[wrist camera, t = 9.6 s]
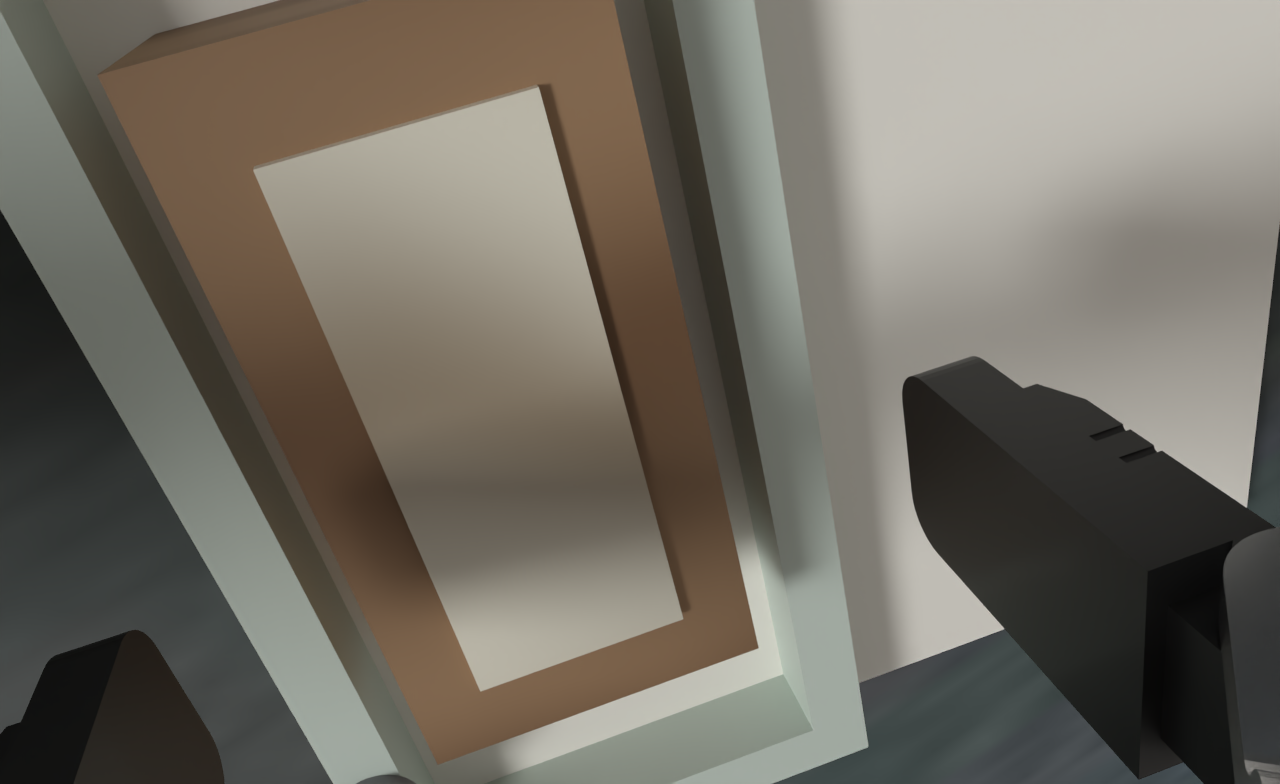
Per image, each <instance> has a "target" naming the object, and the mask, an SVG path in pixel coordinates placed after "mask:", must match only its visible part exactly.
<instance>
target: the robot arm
mask: <svg viewBox="0 0 1280 784" xmlns="http://www.w3.org/2000/svg"><path fill="white" fill-rule="evenodd" d="M902 403H903V413H904V422H905V432H906V442H907V452H908V461H909V471H910V481H911V491H912V498H913V503H914V507H915V511H916V514H917V517H918V520H919V522H920V525H921V527H922V529H923V531H924V533H925V535H926V537H927V539H928V541H929V542H930V544H931V545H932V547H933V548H934V550H935V551H936V552H937V553H938V554H939V556H940V557H941V558H942V559H943V560H944V561H945V562H946V563H947V565H948V566H949V567H950V568H951V569H952V570H953V571H954V572H955V574H956V575H957V576H958V577H959V578H960V579H961V580H962V581H963V583H964V584H965V585H966V586H967V587H968V588H969V589H970V590H971V592H972V593H973V594H974V595H975V596H976V597H977V598H978V599H979V601H980V602H981V603H982V604H983V605H984V606H985V607H986V608H987V610H988V611H989V612H990V613H991V614H992V615H993V616H994V617H995V619H996V620H997V621H998V622H999V623H1000V624H1001V625H1002V626H1003V628H1004V629H1005V630H1006V631H1007V632H1008V633H1009V634H1010V635H1011V637H1012V638H1013V639H1014V640H1015V641H1016V642H1017V643H1018V644H1019V646H1020V647H1021V648H1022V649H1023V650H1024V651H1025V652H1026V653H1027V655H1028V656H1029V657H1030V658H1031V659H1032V660H1033V661H1034V662H1035V664H1036V665H1037V666H1038V667H1039V668H1040V669H1041V670H1042V671H1043V673H1044V674H1045V675H1046V676H1047V677H1048V678H1049V679H1050V680H1051V682H1052V683H1053V684H1054V685H1055V686H1056V687H1057V688H1058V689H1059V690H1060V692H1061V693H1062V694H1063V695H1064V696H1065V697H1066V698H1067V699H1068V701H1069V702H1070V703H1071V704H1072V705H1073V706H1074V707H1075V708H1076V710H1077V711H1078V712H1079V713H1080V714H1081V715H1082V716H1083V717H1084V719H1085V720H1086V721H1087V722H1088V723H1089V724H1090V725H1091V726H1092V728H1093V729H1094V730H1095V731H1096V732H1097V733H1098V734H1099V735H1100V737H1101V738H1102V739H1103V740H1104V741H1105V742H1106V743H1107V744H1108V746H1109V747H1110V748H1111V749H1112V750H1113V751H1114V752H1115V753H1116V755H1117V756H1118V757H1119V758H1120V759H1121V760H1122V761H1123V762H1124V764H1125V765H1126V766H1127V767H1128V768H1129V769H1130V770H1131V771H1132V773H1133V774H1134V775H1135V776H1136V777H1137V778H1138V779H1142V778H1144V777H1147V776H1149V775H1152V774H1154V773H1157V772H1160V771H1162V770H1165V769H1167V768H1170V767H1172V766H1175V765H1177V764H1180V763H1182V762H1184V763H1185V764H1186V765H1187V766H1188V767H1189V768H1190V769H1191V770H1192V772H1193V773H1194V774H1195V775H1196V776H1197V777H1198V778H1199V779H1200V780H1201V781H1202V782H1203V783H1204V784H1280V527H1277V528H1276V527H1274V526H1273V525H1271V524H1270V523H1268V522H1267V521H1265V520H1264V519H1262V518H1261V517H1259V516H1258V515H1256V514H1255V513H1254V512H1252V511H1251V510H1249V509H1248V508H1246V507H1245V506H1243V505H1242V504H1240V503H1239V502H1237V501H1236V500H1234V499H1233V498H1231V497H1230V496H1228V495H1227V494H1225V493H1224V492H1222V491H1221V490H1220V489H1218V488H1217V487H1215V486H1214V485H1212V484H1211V483H1209V482H1208V481H1206V480H1205V479H1203V478H1202V477H1200V476H1199V475H1197V474H1196V473H1194V472H1193V471H1191V470H1190V469H1189V468H1187V467H1186V466H1184V465H1183V464H1181V463H1180V462H1178V461H1177V460H1175V459H1174V458H1172V457H1171V456H1169V455H1168V454H1166V453H1165V452H1163V451H1159V452H1157V451H1156V450H1155V448H1154V445H1153V444H1152V443H1150V442H1149V441H1147V440H1146V439H1144V438H1143V437H1141V436H1140V435H1138V434H1137V433H1135V432H1134V431H1132V430H1131V429H1130V430H1127V431H1126V430H1125V429H1124V427H1123V424H1122V423H1121V422H1119V421H1118V420H1116V419H1115V418H1113V417H1112V416H1110V415H1109V414H1107V413H1106V412H1104V411H1103V410H1101V409H1100V408H1098V407H1097V406H1095V405H1094V404H1092V403H1091V402H1090V401H1088V400H1087V399H1084V398H1081V397H1077V396H1074V395H1071V394H1068V393H1065V392H1061V391H1058V390H1055V389H1052V388H1049V387H1045V386H1042V385H1039V384H1035V385H1032V386H1029V387H1026V388H1022V387H1021V386H1019V385H1018V384H1017V383H1015V382H1014V381H1012V380H1011V379H1010V378H1008V377H1007V376H1006V375H1004V374H1003V373H1001V372H1000V371H999V370H997V369H996V368H995V367H993V366H992V365H990V364H989V363H988V362H986V361H985V360H983V359H982V358H980V357H977V356H971V357H968V358H965V359H961V360H958V361H955V362H952V363H949V364H946V365H943V366H940V367H937V368H934V369H931V370H928V371H925V372H922V373H919V374H916V375H913V376H910V377H908V378H907V379H906V380H905V382H904V384H903V388H902ZM0 784H224V775H223V769H222V764H221V760H220V756H219V753H218V750H217V747H216V744H215V742H214V740H213V738H212V736H211V734H210V732H209V731H208V729H207V728H206V726H205V724H204V723H203V721H202V720H201V718H200V716H199V715H198V713H197V711H196V710H195V708H194V707H193V705H192V703H191V702H190V700H189V699H188V697H187V695H186V694H185V692H184V690H183V689H182V687H181V686H180V684H179V682H178V681H177V679H176V678H175V676H174V674H173V673H172V671H171V669H170V668H169V666H168V665H167V663H166V661H165V660H164V658H163V657H162V655H161V653H160V652H159V650H158V648H157V647H156V645H155V644H154V643H153V641H152V640H151V639H150V638H149V637H148V636H147V635H146V634H145V633H143V632H141V631H139V630H132V631H128V632H125V633H122V634H119V635H116V636H113V637H110V638H107V639H104V640H101V641H98V642H95V643H92V644H89V645H86V646H83V647H80V648H77V649H74V650H71V651H68V652H65V653H61V654H58V655H56V656H54V657H52V658H51V659H50V660H49V661H48V662H47V664H46V666H45V668H44V670H43V672H42V674H41V677H40V679H39V681H38V684H37V686H36V688H35V691H34V693H33V695H32V698H31V700H30V702H29V705H28V707H27V709H26V712H25V714H24V716H23V719H22V721H21V722H20V723H17V724H14V725H11V726H8V727H6V728H5V729H4V731H3V732H2V733H1V734H0Z"/></svg>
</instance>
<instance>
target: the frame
mask: <svg viewBox="0 0 1280 784" xmlns="http://www.w3.org/2000/svg"><path fill="white" fill-rule="evenodd" d="M97 76H98V78H99V80H100V82H101V84H102V86H103V88H104V90H105V92H106V94H107V96H108V98H109V100H110V102H111V104H112V106H113V108H114V110H115V113H116V115H117V117H118V119H119V121H120V123H121V125H122V127H123V129H124V131H125V133H126V135H127V137H128V139H129V141H130V143H131V145H132V147H133V149H134V151H135V153H136V155H137V157H138V159H139V161H140V163H141V165H142V167H143V169H144V171H145V173H146V175H147V177H148V179H149V181H150V183H151V185H152V187H153V189H154V191H155V193H156V195H157V198H158V200H159V202H160V204H161V206H162V208H163V210H164V212H165V214H166V216H167V218H168V220H169V222H170V224H171V226H172V228H173V230H174V232H175V234H176V236H177V238H178V240H179V242H180V244H181V246H182V248H183V250H184V252H185V254H186V256H187V258H188V260H189V262H190V264H191V266H192V268H193V270H194V272H195V274H196V276H197V278H198V281H199V283H200V285H201V287H202V289H203V291H204V293H205V295H206V297H207V299H208V301H209V303H210V305H211V307H212V309H213V311H214V313H215V315H216V317H217V319H218V321H219V323H220V325H221V327H222V329H223V331H224V333H225V335H226V337H227V339H228V341H229V343H230V345H231V347H232V349H233V351H234V353H235V355H236V357H237V359H238V361H239V364H240V366H241V368H242V370H243V372H244V374H245V376H246V378H247V380H248V382H249V384H250V386H251V388H252V390H253V392H254V394H255V396H256V398H257V400H258V402H259V404H260V406H261V408H262V410H263V412H264V414H265V416H266V418H267V420H268V422H269V424H270V426H271V428H272V430H273V432H274V434H275V436H276V438H277V440H278V442H279V444H280V446H281V449H282V451H283V453H284V455H285V457H286V459H287V461H288V463H289V465H290V467H291V469H292V471H293V473H294V475H295V477H296V479H297V481H298V483H299V485H300V487H301V489H302V491H303V493H304V495H305V497H306V499H307V501H308V503H309V505H310V507H311V509H312V511H313V513H314V515H315V517H316V519H317V521H318V523H319V525H320V527H321V529H322V532H323V534H324V536H325V538H326V540H327V542H328V544H329V546H330V548H331V550H332V552H333V554H334V556H335V558H336V560H337V562H338V564H339V566H340V568H341V570H342V572H343V574H344V576H345V578H346V580H347V582H348V584H349V586H350V588H351V590H352V592H353V594H354V596H355V598H356V600H357V602H358V604H359V606H360V608H361V610H362V612H363V614H364V617H365V619H366V621H367V623H368V625H369V627H370V629H371V631H372V633H373V635H374V637H375V639H376V641H377V643H378V645H379V647H380V649H381V651H382V653H383V655H384V657H385V659H386V661H387V663H388V665H389V667H390V669H391V671H392V673H393V675H394V677H395V679H396V681H397V683H398V685H399V687H400V689H401V691H402V693H403V695H404V697H405V700H406V702H407V704H408V706H409V708H410V710H411V712H412V714H413V716H414V718H415V720H416V722H417V724H418V726H419V728H420V730H421V732H422V734H423V736H424V738H425V740H426V742H427V744H428V746H429V748H430V750H431V752H432V754H433V756H434V758H435V760H436V762H437V764H438V765H439V764H442V763H445V762H447V761H450V760H453V759H456V758H458V757H461V756H464V755H467V754H469V753H472V752H475V751H478V750H480V749H483V748H486V747H489V746H491V745H494V744H497V743H500V742H502V741H505V740H508V739H511V738H513V737H516V736H519V735H522V734H524V733H527V732H530V731H533V730H535V729H538V728H541V727H544V726H546V725H549V724H552V723H555V722H557V721H560V720H563V719H566V718H568V717H571V716H574V715H577V714H579V713H582V712H585V711H588V710H590V709H593V708H596V707H599V706H601V705H604V704H607V703H610V702H612V701H615V700H618V699H621V698H623V697H626V696H629V695H632V694H634V693H637V692H640V691H643V690H645V689H648V688H651V687H654V686H656V685H659V684H662V683H665V682H667V681H670V680H673V679H676V678H678V677H681V676H684V675H687V674H689V673H692V672H695V671H698V670H700V669H703V668H706V667H709V666H711V665H714V664H717V663H720V662H722V661H725V660H728V659H731V658H733V657H736V656H739V655H742V654H744V653H747V652H750V651H753V650H755V649H758V648H759V647H758V643H757V638H756V634H755V629H754V625H753V620H752V616H751V611H750V607H749V603H748V598H747V594H746V589H745V585H744V580H743V576H742V571H741V567H740V562H739V558H738V553H737V549H736V544H735V540H734V536H733V531H732V527H731V522H730V518H729V513H728V509H727V504H726V500H725V495H724V491H723V486H722V482H721V477H720V473H719V468H718V464H717V460H716V455H715V451H714V446H713V442H712V437H711V433H710V428H709V424H708V419H707V415H706V410H705V406H704V401H703V397H702V393H701V388H700V384H699V379H698V375H697V370H696V366H695V361H694V357H693V352H692V348H691V343H690V339H689V334H688V330H687V325H686V321H685V317H684V312H683V308H682V303H681V299H680V294H679V290H678V285H677V281H676V276H675V272H674V267H673V263H672V258H671V254H670V249H669V245H668V241H667V236H666V232H665V227H664V223H663V218H662V214H661V209H660V205H659V200H658V196H657V191H656V187H655V182H654V178H653V174H652V169H651V165H650V160H649V156H648V151H647V147H646V142H645V138H644V133H643V129H642V124H641V120H640V115H639V111H638V106H637V102H636V98H635V93H634V89H633V84H632V80H631V75H630V71H629V66H628V62H627V57H626V53H625V48H624V44H623V39H622V35H621V31H620V26H619V22H618V17H617V13H616V8H615V4H614V0H279V1H275V2H271V3H268V4H264V5H260V6H257V7H253V8H249V9H246V10H242V11H238V12H235V13H231V14H227V15H224V16H220V17H216V18H212V19H209V20H205V21H201V22H198V23H194V24H190V25H187V26H183V27H179V28H176V29H172V30H168V31H164V32H161V33H157V34H154V35H153V36H152V37H150V38H149V39H147V40H146V41H145V42H143V43H142V44H140V45H139V46H137V47H136V48H135V49H133V50H132V51H130V52H129V53H128V54H126V55H125V56H123V57H122V58H120V59H119V60H118V61H116V62H115V63H113V64H112V65H111V66H109V67H108V68H106V69H105V70H103V71H102V72H101V73H99V74H98V75H97Z"/></svg>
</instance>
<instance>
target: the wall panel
mask: <svg viewBox="0 0 1280 784" xmlns="http://www.w3.org/2000/svg"><path fill="white" fill-rule="evenodd" d="M275 1H279V0H0V210H1V212H2V213H3V215H4V217H5V219H6V220H7V222H8V224H9V225H10V227H11V229H12V231H13V232H14V234H15V236H16V237H17V239H18V241H19V243H20V244H21V246H22V248H23V250H24V251H25V253H26V255H27V256H28V258H29V260H30V262H31V263H32V265H33V267H34V269H35V270H36V272H37V274H38V275H39V277H40V279H41V281H42V282H43V284H44V286H45V287H46V289H47V291H48V293H49V294H50V296H51V298H52V300H53V301H54V303H55V305H56V306H57V308H58V310H59V312H60V313H61V315H62V317H63V319H64V320H65V322H66V324H67V325H68V327H69V329H70V331H71V332H72V334H73V336H74V337H75V339H76V341H77V343H78V344H79V346H80V348H81V350H82V351H83V353H84V355H85V356H86V358H87V360H88V362H89V363H90V365H91V367H92V368H93V370H94V372H95V374H96V375H97V377H98V379H99V381H100V382H101V384H102V386H103V387H104V389H105V391H106V393H107V394H108V396H109V398H110V400H111V401H112V403H113V405H114V406H115V408H116V410H117V412H118V413H119V415H120V417H121V418H122V420H123V422H124V424H125V425H126V427H127V429H128V431H129V432H130V434H131V436H132V437H133V439H134V441H135V443H136V444H137V446H138V448H139V450H140V451H141V453H142V455H143V456H144V458H145V460H146V462H147V463H148V465H149V467H150V468H151V470H152V472H153V474H154V475H155V477H156V479H157V481H158V482H159V484H160V486H161V487H162V489H163V491H164V493H165V494H166V496H167V498H168V500H169V501H170V503H171V505H172V506H173V508H174V510H175V512H176V513H177V515H178V517H179V518H180V520H181V522H182V524H183V525H184V527H185V529H186V531H187V532H188V534H189V536H190V537H191V539H192V541H193V543H194V544H195V546H196V548H197V550H198V551H199V553H200V555H201V556H202V558H203V560H204V562H205V563H206V565H207V567H208V568H209V570H210V572H211V574H212V575H213V577H214V579H215V581H216V582H217V584H218V586H219V587H220V589H221V591H222V593H223V594H224V596H225V598H226V599H227V601H228V603H229V605H230V606H231V608H232V610H233V612H234V613H235V615H236V617H237V618H238V620H239V622H240V624H241V625H242V627H243V629H244V631H245V632H246V634H247V636H248V637H249V639H250V641H251V643H252V644H253V646H254V648H255V649H256V651H257V653H258V655H259V656H260V658H261V660H262V662H263V663H264V665H265V667H266V668H267V670H268V672H269V674H270V675H271V677H272V679H273V681H274V682H275V684H276V686H277V687H278V689H279V691H280V693H281V694H282V696H283V698H284V699H285V701H286V703H287V705H288V706H289V708H290V710H291V712H292V713H293V715H294V717H295V718H296V720H297V722H298V724H299V725H300V727H301V729H302V731H303V732H304V734H305V736H306V737H307V739H308V741H309V743H310V744H311V746H312V748H313V749H314V751H315V753H316V755H317V756H318V758H319V760H320V762H321V763H322V765H323V767H324V768H325V770H326V772H327V774H328V775H329V777H330V779H331V781H332V782H333V784H772V783H775V782H778V781H780V780H783V779H785V778H788V777H791V776H793V775H796V774H799V773H801V772H804V771H807V770H809V769H812V768H815V767H817V766H820V765H822V764H825V763H828V762H830V761H833V760H836V759H838V758H841V757H844V756H846V755H849V754H851V753H854V752H857V751H859V750H862V749H865V748H867V747H868V741H867V734H866V728H865V721H864V715H863V708H862V702H861V695H860V689H859V683H860V682H863V681H866V680H868V679H871V678H874V677H876V676H879V675H882V674H885V673H887V672H890V671H893V670H895V669H898V668H901V667H903V666H906V665H909V664H912V663H914V662H917V661H920V660H922V659H925V658H928V657H930V656H933V655H936V654H938V653H941V652H944V651H947V650H949V649H952V648H955V647H957V646H960V645H963V644H965V643H968V642H971V641H974V640H976V639H979V638H982V637H984V636H987V635H990V634H992V633H995V632H998V631H1001V630H1003V629H1004V628H1003V626H1002V625H1001V624H1000V623H999V622H998V621H997V620H996V619H995V617H994V616H993V615H992V614H991V613H990V612H989V611H988V610H987V608H986V607H985V606H984V605H983V604H982V603H981V602H980V601H979V599H978V598H977V597H976V596H975V595H974V594H973V593H972V592H971V590H970V589H969V588H968V587H967V586H966V585H965V584H964V583H963V581H962V580H961V579H960V578H959V577H958V576H957V575H956V574H955V572H954V571H953V570H952V569H951V568H950V567H949V566H948V565H947V563H946V562H945V561H944V560H943V559H942V558H941V557H940V556H939V554H938V553H937V552H936V551H935V550H934V548H933V547H932V545H931V544H930V542H929V541H928V539H927V537H926V535H925V533H924V531H923V529H922V527H921V525H920V522H919V520H918V517H917V514H916V511H915V507H914V503H913V498H912V491H911V481H910V471H909V461H908V452H907V442H906V432H905V422H904V413H903V403H902V388H903V384H904V382H905V380H906V379H907V378H908V377H910V376H913V375H916V374H919V373H922V372H925V371H928V370H931V369H934V368H937V367H940V366H943V365H946V364H949V363H952V362H955V361H958V360H961V359H965V358H968V357H971V356H977V357H980V358H982V359H983V360H985V361H986V362H988V363H989V364H990V365H992V366H993V367H995V368H996V369H997V370H999V371H1000V372H1001V373H1003V374H1004V375H1006V376H1007V377H1008V378H1010V379H1011V380H1012V381H1014V382H1015V383H1017V384H1018V385H1019V386H1021V387H1022V388H1026V387H1029V386H1032V385H1035V384H1039V385H1042V386H1045V387H1049V388H1052V389H1055V390H1058V391H1061V392H1065V393H1068V394H1071V395H1074V396H1077V397H1081V398H1084V399H1087V400H1088V401H1090V402H1091V403H1092V404H1094V405H1095V406H1097V407H1098V408H1100V409H1101V410H1103V411H1104V412H1106V413H1107V414H1109V415H1110V416H1112V417H1113V418H1115V419H1116V420H1118V421H1119V422H1121V423H1122V424H1123V427H1124V429H1125V430H1126V431H1127V430H1130V429H1131V430H1132V431H1134V432H1135V433H1137V434H1138V435H1140V436H1141V437H1143V438H1144V439H1146V440H1147V441H1149V442H1150V443H1152V444H1153V445H1154V448H1155V450H1156V451H1157V452H1159V451H1163V452H1165V453H1166V454H1168V455H1169V456H1171V457H1172V458H1174V459H1175V460H1177V461H1178V462H1180V463H1181V464H1183V465H1184V466H1186V467H1187V468H1189V469H1190V470H1191V471H1193V472H1194V473H1196V474H1197V475H1199V476H1200V477H1202V478H1203V479H1205V480H1206V481H1208V482H1209V483H1211V484H1212V485H1214V486H1215V487H1217V488H1218V489H1220V490H1221V491H1222V492H1224V493H1225V494H1227V495H1228V496H1230V497H1231V498H1233V499H1234V500H1236V501H1237V502H1239V503H1240V504H1242V505H1243V506H1245V507H1246V508H1247V502H1248V493H1249V484H1250V476H1251V467H1252V458H1253V450H1254V441H1255V432H1256V424H1257V415H1258V407H1259V398H1260V389H1261V381H1262V372H1263V363H1264V355H1265V346H1266V337H1267V329H1268V320H1269V311H1270V303H1271V294H1272V285H1273V277H1274V268H1275V259H1276V251H1277V242H1278V233H1279V225H1280V0H614V4H615V8H616V13H617V17H618V22H619V26H620V31H621V35H622V39H623V44H624V48H625V53H626V57H627V62H628V66H629V71H630V75H631V80H632V84H633V89H634V93H635V98H636V102H637V106H638V111H639V115H640V120H641V124H642V129H643V133H644V138H645V142H646V147H647V151H648V156H649V160H650V165H651V169H652V174H653V178H654V182H655V187H656V191H657V196H658V200H659V205H660V209H661V214H662V218H663V223H664V227H665V232H666V236H667V241H668V245H669V249H670V254H671V258H672V263H673V267H674V272H675V276H676V281H677V285H678V290H679V294H680V299H681V303H682V308H683V312H684V317H685V321H686V325H687V330H688V334H689V339H690V343H691V348H692V352H693V357H694V361H695V366H696V370H697V375H698V379H699V384H700V388H701V393H702V397H703V401H704V406H705V410H706V415H707V419H708V424H709V428H710V433H711V437H712V442H713V446H714V451H715V455H716V460H717V464H718V468H719V473H720V477H721V482H722V486H723V491H724V495H725V500H726V504H727V509H728V513H729V518H730V522H731V527H732V531H733V536H734V540H735V544H736V549H737V553H738V558H739V562H740V567H741V571H742V576H743V580H744V585H745V589H746V594H747V598H748V603H749V607H750V611H751V616H752V620H753V625H754V629H755V634H756V638H757V643H758V647H759V648H758V649H755V650H753V651H750V652H747V653H744V654H742V655H739V656H736V657H733V658H731V659H728V660H725V661H722V662H720V663H717V664H714V665H711V666H709V667H706V668H703V669H700V670H698V671H695V672H692V673H689V674H687V675H684V676H681V677H678V678H676V679H673V680H670V681H667V682H665V683H662V684H659V685H656V686H654V687H651V688H648V689H645V690H643V691H640V692H637V693H634V694H632V695H629V696H626V697H623V698H621V699H618V700H615V701H612V702H610V703H607V704H604V705H601V706H599V707H596V708H593V709H590V710H588V711H585V712H582V713H579V714H577V715H574V716H571V717H568V718H566V719H563V720H560V721H557V722H555V723H552V724H549V725H546V726H544V727H541V728H538V729H535V730H533V731H530V732H527V733H524V734H522V735H519V736H516V737H513V738H511V739H508V740H505V741H502V742H500V743H497V744H494V745H491V746H489V747H486V748H483V749H480V750H478V751H475V752H472V753H469V754H467V755H464V756H461V757H458V758H456V759H453V760H450V761H447V762H445V763H442V764H439V765H438V764H437V762H436V760H435V758H434V756H433V754H432V752H431V750H430V748H429V746H428V744H427V742H426V740H425V738H424V736H423V734H422V732H421V730H420V728H419V726H418V724H417V722H416V720H415V718H414V716H413V714H412V712H411V710H410V708H409V706H408V704H407V702H406V700H405V697H404V695H403V693H402V691H401V689H400V687H399V685H398V683H397V681H396V679H395V677H394V675H393V673H392V671H391V669H390V667H389V665H388V663H387V661H386V659H385V657H384V655H383V653H382V651H381V649H380V647H379V645H378V643H377V641H376V639H375V637H374V635H373V633H372V631H371V629H370V627H369V625H368V623H367V621H366V619H365V617H364V614H363V612H362V610H361V608H360V606H359V604H358V602H357V600H356V598H355V596H354V594H353V592H352V590H351V588H350V586H349V584H348V582H347V580H346V578H345V576H344V574H343V572H342V570H341V568H340V566H339V564H338V562H337V560H336V558H335V556H334V554H333V552H332V550H331V548H330V546H329V544H328V542H327V540H326V538H325V536H324V534H323V532H322V529H321V527H320V525H319V523H318V521H317V519H316V517H315V515H314V513H313V511H312V509H311V507H310V505H309V503H308V501H307V499H306V497H305V495H304V493H303V491H302V489H301V487H300V485H299V483H298V481H297V479H296V477H295V475H294V473H293V471H292V469H291V467H290V465H289V463H288V461H287V459H286V457H285V455H284V453H283V451H282V449H281V446H280V444H279V442H278V440H277V438H276V436H275V434H274V432H273V430H272V428H271V426H270V424H269V422H268V420H267V418H266V416H265V414H264V412H263V410H262V408H261V406H260V404H259V402H258V400H257V398H256V396H255V394H254V392H253V390H252V388H251V386H250V384H249V382H248V380H247V378H246V376H245V374H244V372H243V370H242V368H241V366H240V364H239V361H238V359H237V357H236V355H235V353H234V351H233V349H232V347H231V345H230V343H229V341H228V339H227V337H226V335H225V333H224V331H223V329H222V327H221V325H220V323H219V321H218V319H217V317H216V315H215V313H214V311H213V309H212V307H211V305H210V303H209V301H208V299H207V297H206V295H205V293H204V291H203V289H202V287H201V285H200V283H199V281H198V278H197V276H196V274H195V272H194V270H193V268H192V266H191V264H190V262H189V260H188V258H187V256H186V254H185V252H184V250H183V248H182V246H181V244H180V242H179V240H178V238H177V236H176V234H175V232H174V230H173V228H172V226H171V224H170V222H169V220H168V218H167V216H166V214H165V212H164V210H163V208H162V206H161V204H160V202H159V200H158V198H157V195H156V193H155V191H154V189H153V187H152V185H151V183H150V181H149V179H148V177H147V175H146V173H145V171H144V169H143V167H142V165H141V163H140V161H139V159H138V157H137V155H136V153H135V151H134V149H133V147H132V145H131V143H130V141H129V139H128V137H127V135H126V133H125V131H124V129H123V127H122V125H121V123H120V121H119V119H118V117H117V115H116V113H115V110H114V108H113V106H112V104H111V102H110V100H109V98H108V96H107V94H106V92H105V90H104V88H103V86H102V84H101V82H100V80H99V78H98V76H97V75H98V74H99V73H101V72H102V71H103V70H105V69H106V68H108V67H109V66H111V65H112V64H113V63H115V62H116V61H118V60H119V59H120V58H122V57H123V56H125V55H126V54H128V53H129V52H130V51H132V50H133V49H135V48H136V47H137V46H139V45H140V44H142V43H143V42H145V41H146V40H147V39H149V38H150V37H152V36H153V35H154V34H157V33H161V32H164V31H168V30H172V29H176V28H179V27H183V26H187V25H190V24H194V23H198V22H201V21H205V20H209V19H212V18H216V17H220V16H224V15H227V14H231V13H235V12H238V11H242V10H246V9H249V8H253V7H257V6H260V5H264V4H268V3H271V2H275Z"/></svg>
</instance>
